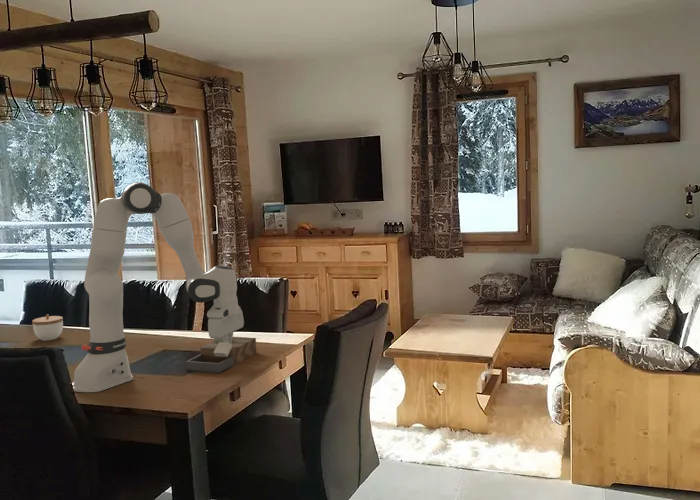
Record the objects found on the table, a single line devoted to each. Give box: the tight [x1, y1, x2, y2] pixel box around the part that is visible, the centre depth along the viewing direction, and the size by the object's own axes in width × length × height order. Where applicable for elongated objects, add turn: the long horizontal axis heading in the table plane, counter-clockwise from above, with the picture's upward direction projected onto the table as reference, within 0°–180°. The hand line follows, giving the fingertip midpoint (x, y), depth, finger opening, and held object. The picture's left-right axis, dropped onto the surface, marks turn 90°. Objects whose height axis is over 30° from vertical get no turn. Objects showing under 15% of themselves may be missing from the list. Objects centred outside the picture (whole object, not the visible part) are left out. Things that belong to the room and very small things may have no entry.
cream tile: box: [213, 342, 232, 357], centre depth 233 cm, size 5×5×2 cm
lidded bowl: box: [31, 314, 64, 341], centre depth 286 cm, size 13×13×11 cm
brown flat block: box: [199, 336, 258, 366], centre depth 245 cm, size 18×14×6 cm
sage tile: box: [213, 337, 224, 343], centre depth 247 cm, size 5×5×2 cm
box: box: [185, 353, 235, 374], centre depth 232 cm, size 10×14×4 cm
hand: (228, 344), depth 237 cm, fingers closed
